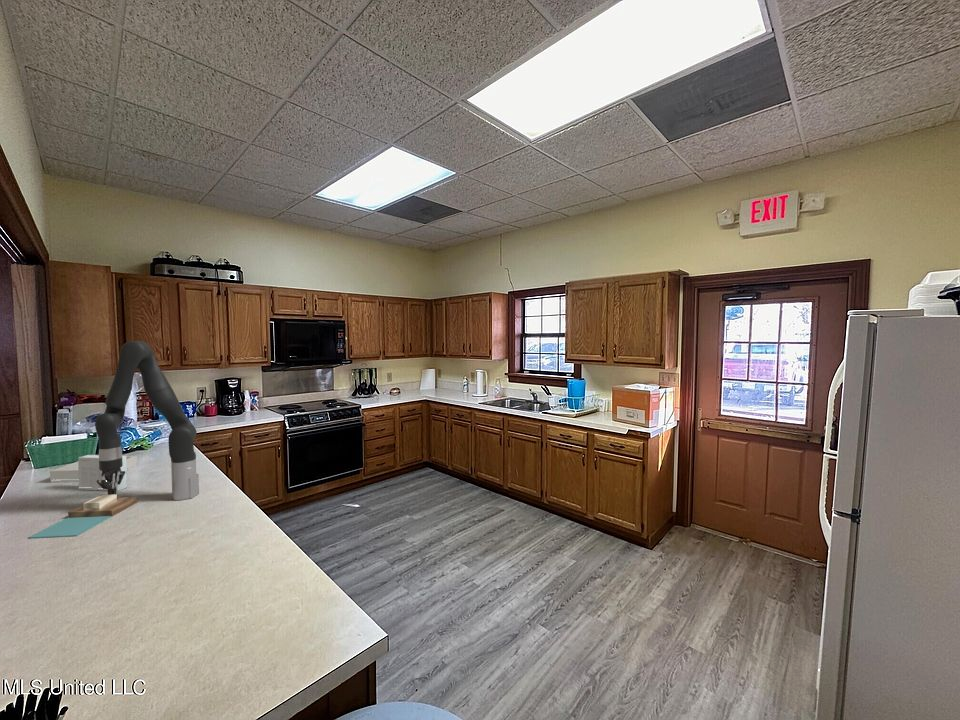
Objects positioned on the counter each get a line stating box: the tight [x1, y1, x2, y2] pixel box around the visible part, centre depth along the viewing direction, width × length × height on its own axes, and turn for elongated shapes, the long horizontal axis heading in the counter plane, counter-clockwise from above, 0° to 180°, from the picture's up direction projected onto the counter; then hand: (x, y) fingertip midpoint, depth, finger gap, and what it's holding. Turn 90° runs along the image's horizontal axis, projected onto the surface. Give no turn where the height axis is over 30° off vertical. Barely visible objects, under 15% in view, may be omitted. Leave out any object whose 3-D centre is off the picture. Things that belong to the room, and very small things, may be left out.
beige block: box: [83, 493, 118, 510], centre depth 168 cm, size 6×9×3 cm, turn 6°
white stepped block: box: [49, 455, 138, 484], centre depth 214 cm, size 24×24×6 cm
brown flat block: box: [67, 496, 138, 518], centre depth 170 cm, size 16×14×2 cm
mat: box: [27, 516, 112, 539], centre depth 155 cm, size 16×16×1 cm
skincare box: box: [77, 454, 128, 492], centre depth 194 cm, size 21×5×16 cm, turn 84°
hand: (112, 496), depth 174 cm, fingers closed
